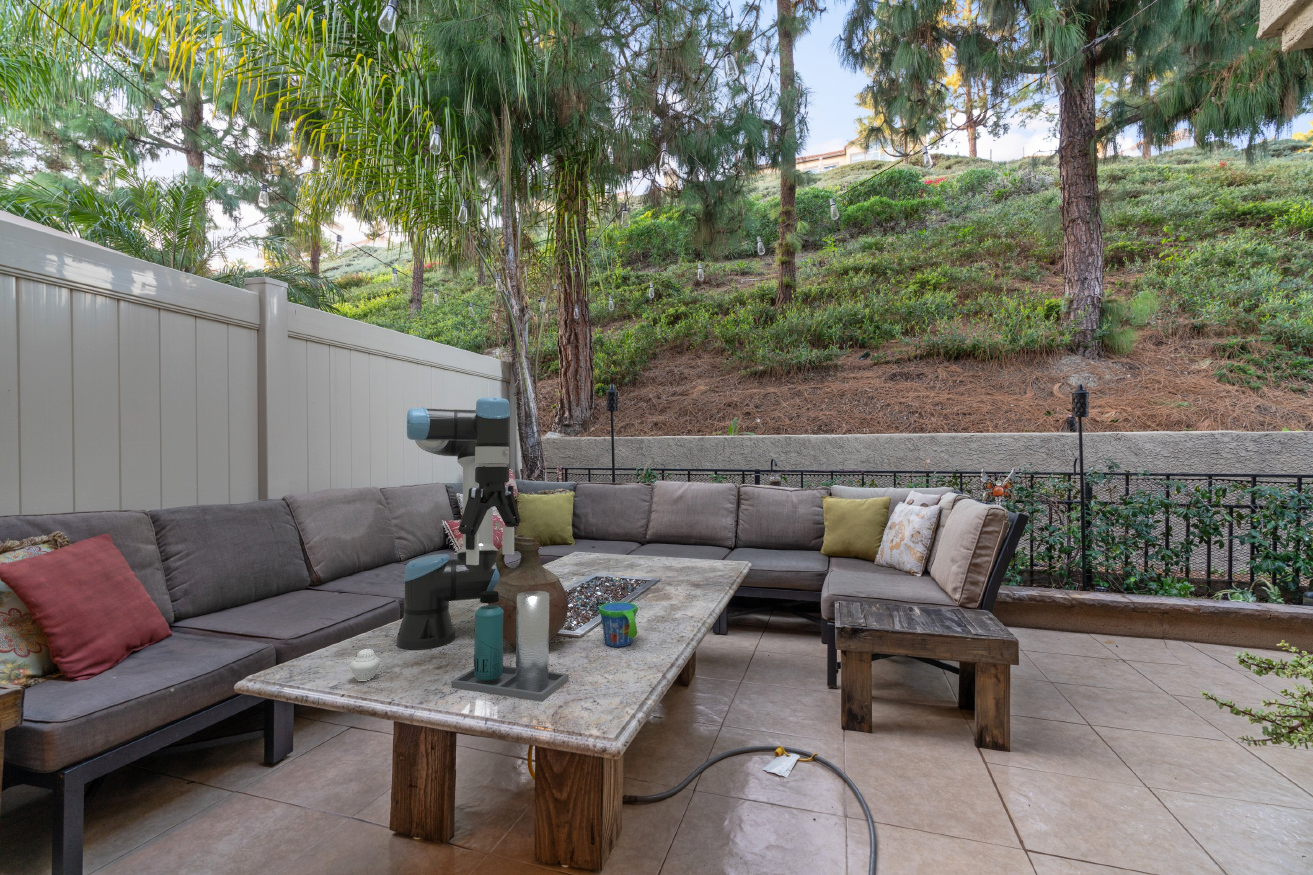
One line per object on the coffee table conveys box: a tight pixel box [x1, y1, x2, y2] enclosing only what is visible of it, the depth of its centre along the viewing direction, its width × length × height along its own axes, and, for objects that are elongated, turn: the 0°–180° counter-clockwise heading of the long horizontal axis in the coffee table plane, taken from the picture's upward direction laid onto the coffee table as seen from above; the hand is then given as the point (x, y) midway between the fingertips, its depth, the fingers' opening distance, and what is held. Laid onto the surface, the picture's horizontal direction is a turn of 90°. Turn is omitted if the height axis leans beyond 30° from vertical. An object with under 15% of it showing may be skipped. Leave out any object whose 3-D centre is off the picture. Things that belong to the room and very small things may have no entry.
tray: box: [450, 665, 569, 702], centre depth 124 cm, size 12×22×2 cm, turn 72°
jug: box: [487, 534, 569, 649], centre depth 153 cm, size 22×22×30 cm
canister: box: [515, 591, 550, 692], centre depth 123 cm, size 7×7×20 cm
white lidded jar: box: [349, 648, 381, 681], centre depth 130 cm, size 6×6×7 cm
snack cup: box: [598, 601, 639, 648], centre depth 155 cm, size 16×10×10 cm
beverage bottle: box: [473, 591, 505, 680], centre depth 126 cm, size 6×7×20 cm
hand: (491, 559), depth 127 cm, fingers open, 13 cm apart
